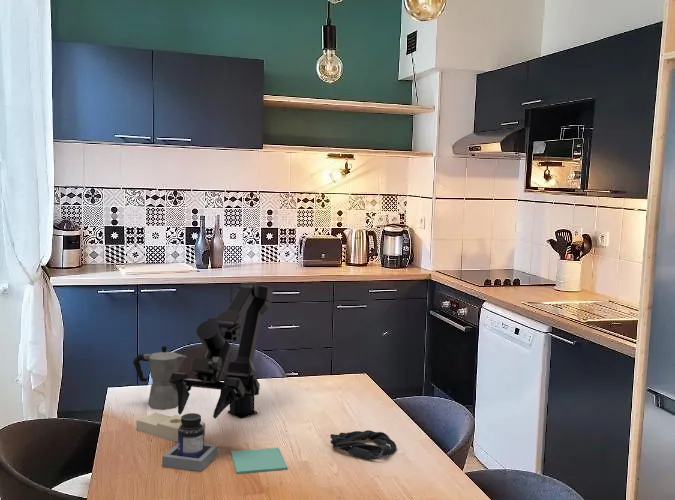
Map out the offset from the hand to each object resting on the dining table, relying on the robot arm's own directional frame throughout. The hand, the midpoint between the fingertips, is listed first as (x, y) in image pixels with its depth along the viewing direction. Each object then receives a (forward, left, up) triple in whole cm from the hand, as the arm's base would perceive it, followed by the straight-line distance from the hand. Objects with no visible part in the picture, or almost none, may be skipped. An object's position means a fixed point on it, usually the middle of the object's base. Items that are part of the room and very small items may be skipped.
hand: (196, 415), depth 161 cm
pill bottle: (+3, +2, -10) cm, 11 cm away
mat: (-9, +13, -10) cm, 19 cm away
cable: (-34, +24, -11) cm, 43 cm away
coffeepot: (-12, -38, -10) cm, 42 cm away
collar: (+3, +2, -10) cm, 11 cm away
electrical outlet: (-3, -17, -11) cm, 20 cm away
